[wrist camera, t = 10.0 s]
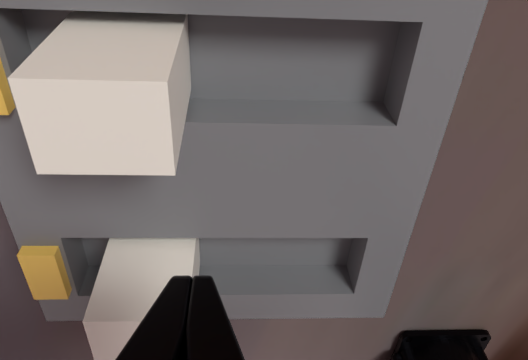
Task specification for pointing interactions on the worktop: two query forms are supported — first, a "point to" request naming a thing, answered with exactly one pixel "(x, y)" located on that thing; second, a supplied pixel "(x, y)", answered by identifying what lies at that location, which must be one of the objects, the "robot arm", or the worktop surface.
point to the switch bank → (257, 152)
